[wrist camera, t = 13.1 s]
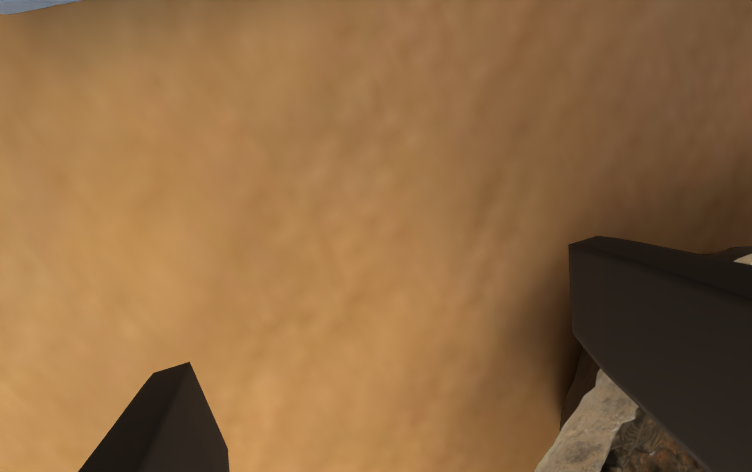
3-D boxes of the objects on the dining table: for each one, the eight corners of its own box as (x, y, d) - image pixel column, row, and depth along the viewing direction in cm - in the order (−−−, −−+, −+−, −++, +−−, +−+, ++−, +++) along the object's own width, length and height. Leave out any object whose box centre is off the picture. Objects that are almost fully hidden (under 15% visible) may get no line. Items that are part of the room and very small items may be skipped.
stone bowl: (914, 357, 32) (1140, 484, 24) (586, 573, 35) (683, 750, 27) (826, 28, 21) (1194, 52, 12) (361, 390, 24) (410, 595, 16)
